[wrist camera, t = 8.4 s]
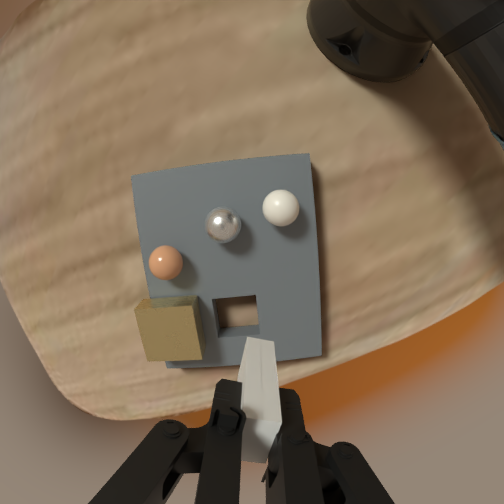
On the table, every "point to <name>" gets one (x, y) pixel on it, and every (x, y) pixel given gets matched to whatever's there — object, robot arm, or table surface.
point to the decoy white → (280, 207)
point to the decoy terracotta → (165, 262)
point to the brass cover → (171, 328)
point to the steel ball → (222, 224)
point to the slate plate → (237, 252)
